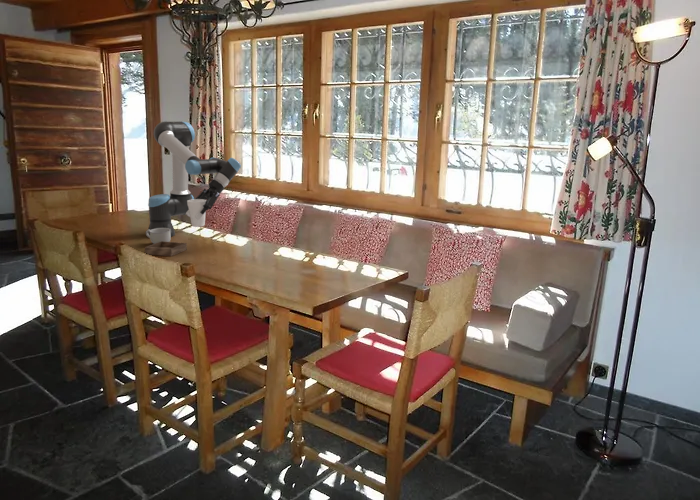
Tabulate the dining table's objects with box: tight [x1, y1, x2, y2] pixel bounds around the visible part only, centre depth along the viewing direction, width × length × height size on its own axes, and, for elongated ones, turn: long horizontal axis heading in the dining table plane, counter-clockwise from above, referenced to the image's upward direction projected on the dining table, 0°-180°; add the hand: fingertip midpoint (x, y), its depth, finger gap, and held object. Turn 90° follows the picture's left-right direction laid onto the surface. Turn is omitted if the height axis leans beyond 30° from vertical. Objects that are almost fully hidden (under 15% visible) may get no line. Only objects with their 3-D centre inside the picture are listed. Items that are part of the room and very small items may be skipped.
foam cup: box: [187, 198, 207, 228], centre depth 275 cm, size 10×9×13 cm
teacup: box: [145, 228, 172, 244], centre depth 290 cm, size 14×11×8 cm
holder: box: [144, 241, 188, 257], centre depth 274 cm, size 15×15×4 cm
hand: (192, 216), depth 274 cm, fingers closed on foam cup, 9 cm apart
